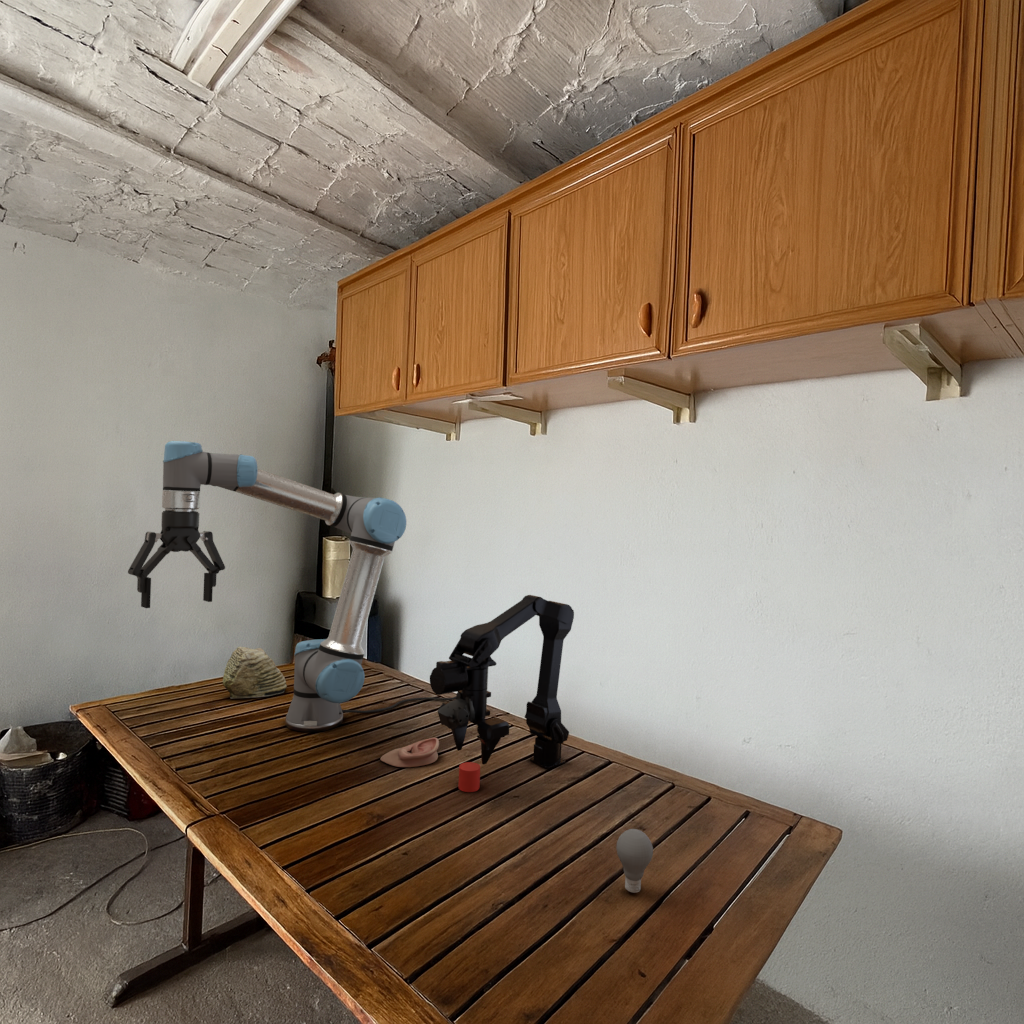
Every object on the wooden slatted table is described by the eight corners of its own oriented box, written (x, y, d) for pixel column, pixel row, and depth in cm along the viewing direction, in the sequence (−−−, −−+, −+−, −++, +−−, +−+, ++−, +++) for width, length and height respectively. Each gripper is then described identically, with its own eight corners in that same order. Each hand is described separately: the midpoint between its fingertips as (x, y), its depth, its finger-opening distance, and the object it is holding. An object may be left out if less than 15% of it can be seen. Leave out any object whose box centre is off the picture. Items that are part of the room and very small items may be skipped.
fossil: (218, 695, 195) (220, 647, 195) (278, 685, 208) (279, 640, 207) (228, 703, 189) (230, 653, 188) (289, 692, 201) (290, 645, 201)
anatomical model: (375, 747, 151) (394, 730, 162) (374, 764, 151) (393, 746, 162) (428, 754, 148) (443, 736, 159) (427, 771, 148) (443, 752, 159)
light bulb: (610, 879, 108) (613, 822, 108) (644, 879, 109) (647, 822, 109) (619, 902, 102) (622, 840, 102) (655, 901, 103) (658, 840, 103)
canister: (470, 794, 138) (471, 772, 138) (453, 787, 141) (454, 766, 140) (483, 786, 142) (484, 765, 142) (467, 780, 144) (468, 760, 144)
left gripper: (127, 510, 130) (124, 612, 131) (242, 511, 150) (239, 600, 151) (112, 508, 135) (109, 607, 135) (226, 510, 155) (223, 596, 155)
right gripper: (420, 682, 142) (417, 751, 143) (471, 705, 128) (467, 781, 128) (460, 675, 150) (457, 740, 150) (512, 695, 136) (509, 768, 136)
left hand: (177, 604), depth 143 cm, fingers open, 13 cm apart
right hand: (471, 756), depth 141 cm, fingers open, 9 cm apart
